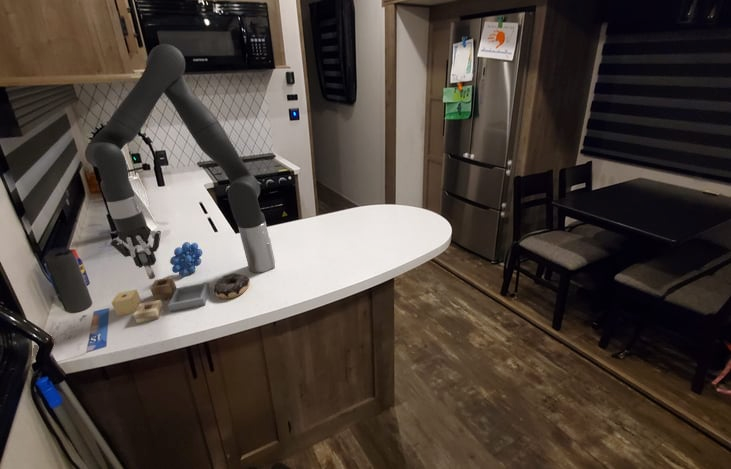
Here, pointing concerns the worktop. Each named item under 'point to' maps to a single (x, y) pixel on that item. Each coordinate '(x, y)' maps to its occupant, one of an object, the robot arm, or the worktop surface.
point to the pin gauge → (146, 263)
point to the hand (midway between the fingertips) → (147, 265)
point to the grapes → (186, 258)
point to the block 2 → (163, 289)
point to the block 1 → (126, 302)
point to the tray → (189, 297)
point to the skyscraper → (142, 200)
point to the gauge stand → (148, 311)
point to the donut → (231, 285)
